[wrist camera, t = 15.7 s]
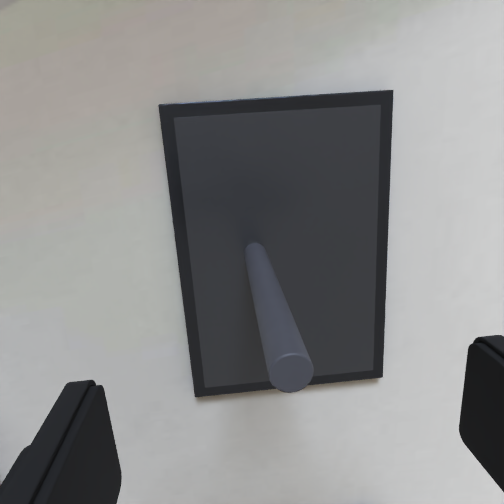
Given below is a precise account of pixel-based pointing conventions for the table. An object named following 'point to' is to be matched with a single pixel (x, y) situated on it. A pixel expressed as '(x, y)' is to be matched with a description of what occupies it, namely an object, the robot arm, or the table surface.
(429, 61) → the table surface
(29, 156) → the table surface
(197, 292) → the tablet
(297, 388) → the stylus
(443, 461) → the table surface
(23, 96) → the table surface
